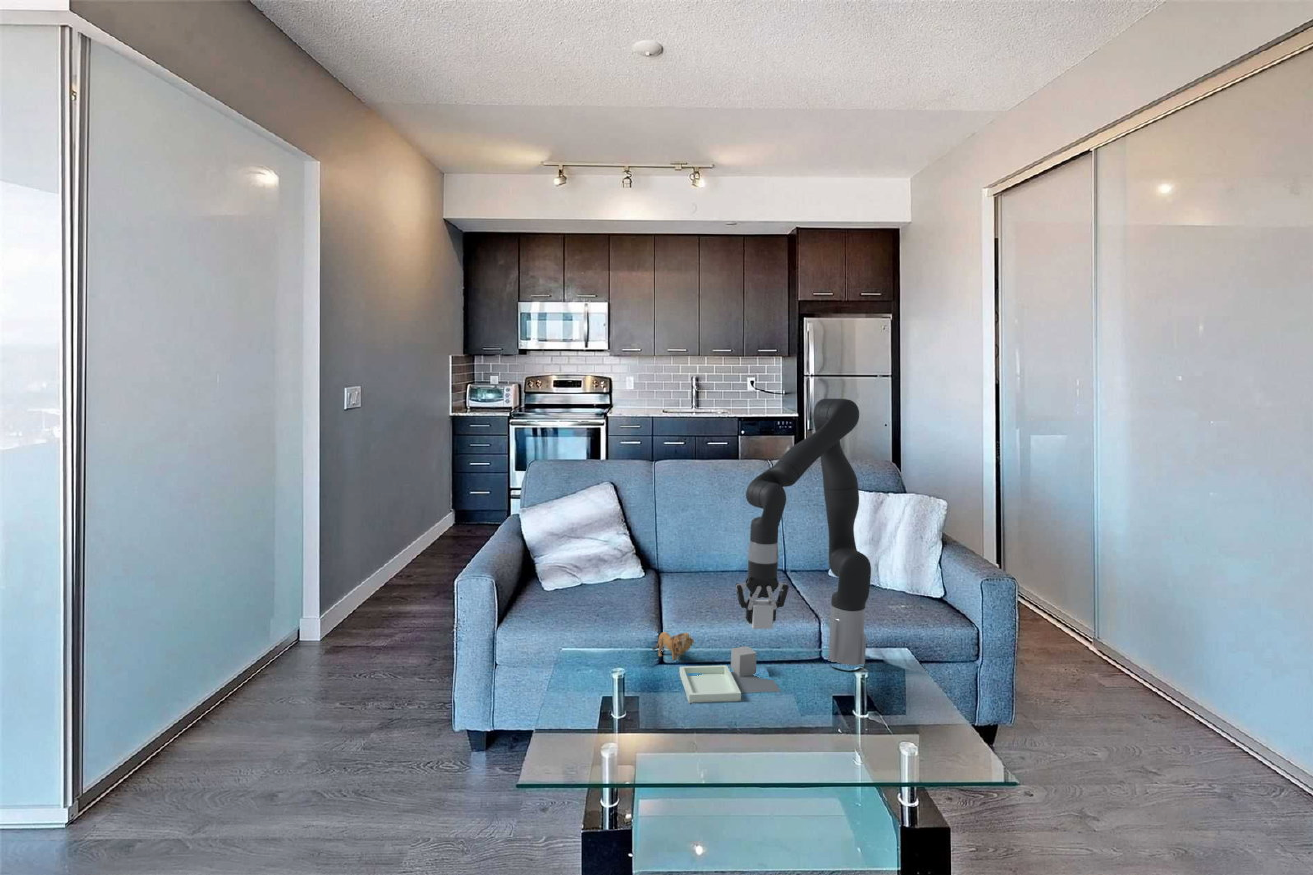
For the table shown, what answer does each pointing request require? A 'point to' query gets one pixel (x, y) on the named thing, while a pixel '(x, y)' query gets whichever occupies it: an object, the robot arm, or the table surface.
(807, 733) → the table surface
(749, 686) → the slate mat
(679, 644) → the lion figurine
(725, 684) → the sage tray
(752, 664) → the stone block
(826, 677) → the table surface
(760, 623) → the stone block
